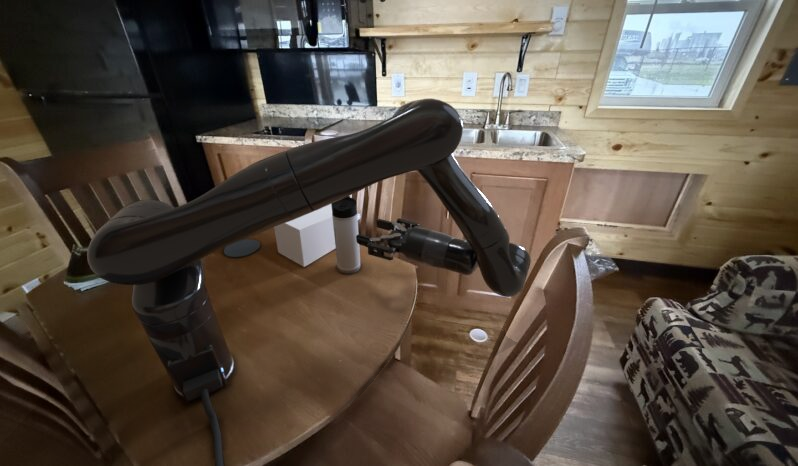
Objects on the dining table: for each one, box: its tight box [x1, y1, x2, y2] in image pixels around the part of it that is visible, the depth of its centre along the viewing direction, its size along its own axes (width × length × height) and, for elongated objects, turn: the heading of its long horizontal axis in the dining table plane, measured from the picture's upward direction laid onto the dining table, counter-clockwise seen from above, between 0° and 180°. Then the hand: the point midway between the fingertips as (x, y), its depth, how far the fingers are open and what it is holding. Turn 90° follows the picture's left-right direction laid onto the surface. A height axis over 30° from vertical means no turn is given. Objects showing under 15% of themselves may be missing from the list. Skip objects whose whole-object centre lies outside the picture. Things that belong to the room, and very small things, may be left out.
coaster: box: [223, 238, 261, 259], centre depth 94 cm, size 10×10×1 cm
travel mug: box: [331, 195, 361, 275], centre depth 82 cm, size 6×7×20 cm
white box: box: [273, 204, 361, 268], centre depth 96 cm, size 12×12×26 cm
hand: (367, 230), depth 74 cm, fingers open, 8 cm apart
